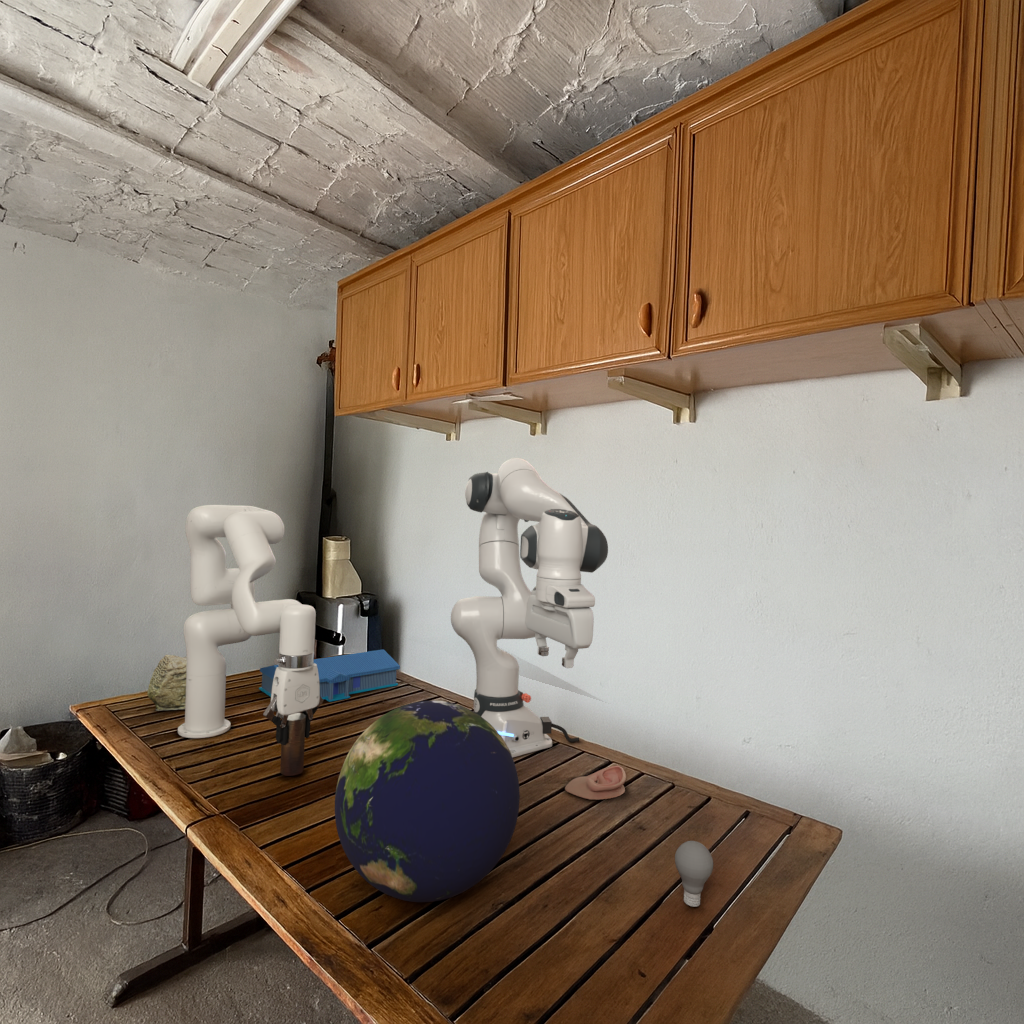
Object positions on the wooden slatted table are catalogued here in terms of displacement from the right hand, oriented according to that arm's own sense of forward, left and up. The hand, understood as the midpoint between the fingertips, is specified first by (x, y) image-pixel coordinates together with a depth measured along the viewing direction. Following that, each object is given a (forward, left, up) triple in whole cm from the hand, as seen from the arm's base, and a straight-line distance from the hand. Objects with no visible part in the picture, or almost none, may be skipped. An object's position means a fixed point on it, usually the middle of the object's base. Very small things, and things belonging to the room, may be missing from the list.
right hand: (554, 661), depth 126 cm
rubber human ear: (-18, -9, -33) cm, 39 cm away
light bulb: (-9, +31, -33) cm, 46 cm away
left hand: (+43, -41, -25) cm, 65 cm away
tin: (+43, -41, -32) cm, 68 cm away
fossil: (+65, -99, -33) cm, 123 cm away
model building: (+22, -103, -33) cm, 110 cm away
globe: (+29, +10, -33) cm, 45 cm away
